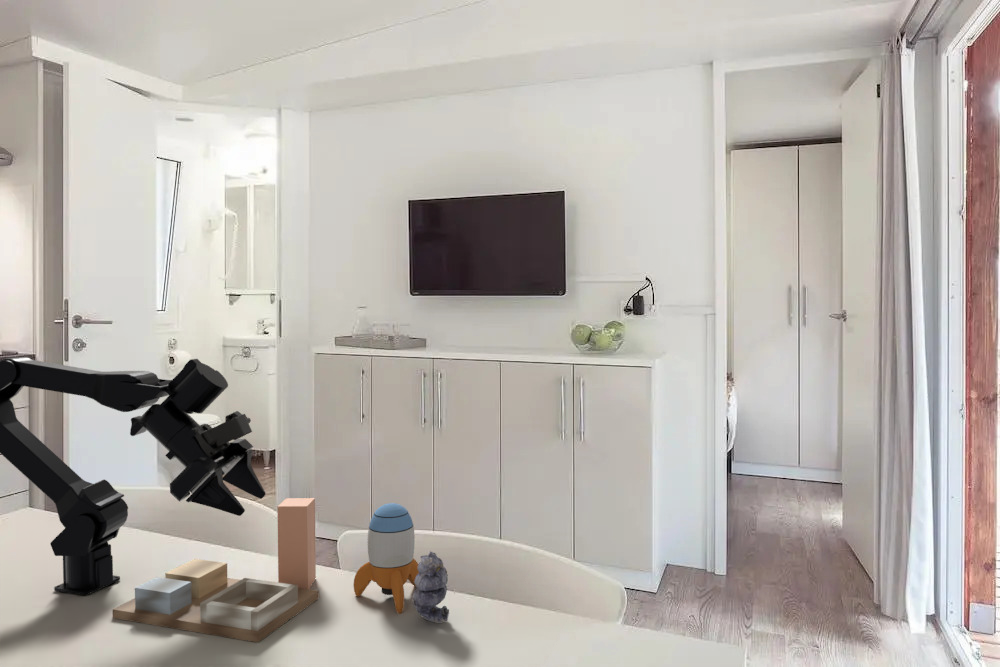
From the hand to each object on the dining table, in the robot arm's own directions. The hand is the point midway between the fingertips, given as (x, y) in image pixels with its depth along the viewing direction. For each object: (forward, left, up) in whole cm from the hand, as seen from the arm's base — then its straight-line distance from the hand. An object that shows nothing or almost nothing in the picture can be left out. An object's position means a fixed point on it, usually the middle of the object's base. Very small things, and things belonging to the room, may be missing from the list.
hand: (253, 504), depth 105 cm
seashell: (+31, -4, -13) cm, 34 cm away
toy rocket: (+21, +2, -13) cm, 25 cm away
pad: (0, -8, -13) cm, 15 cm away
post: (+6, +2, -13) cm, 14 cm away
